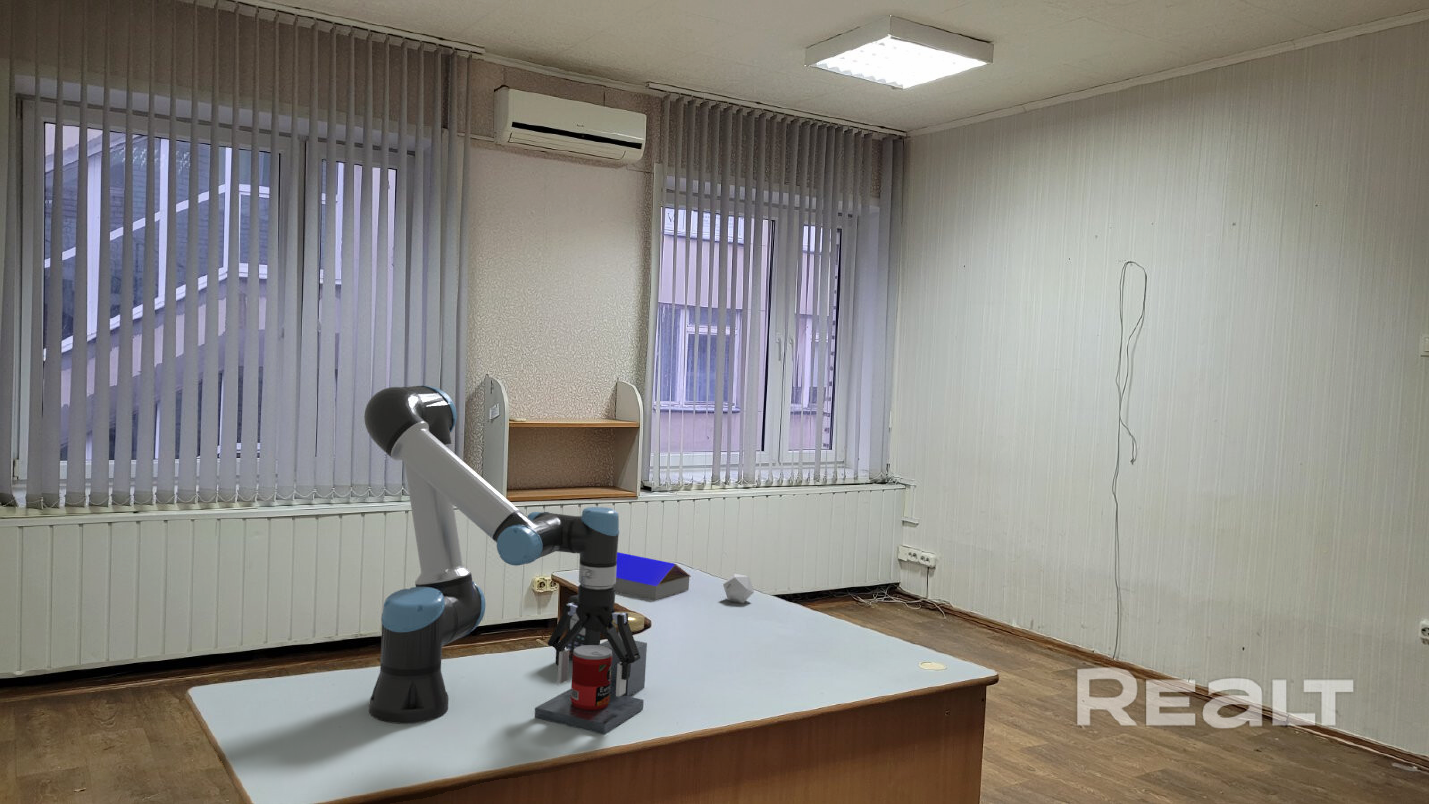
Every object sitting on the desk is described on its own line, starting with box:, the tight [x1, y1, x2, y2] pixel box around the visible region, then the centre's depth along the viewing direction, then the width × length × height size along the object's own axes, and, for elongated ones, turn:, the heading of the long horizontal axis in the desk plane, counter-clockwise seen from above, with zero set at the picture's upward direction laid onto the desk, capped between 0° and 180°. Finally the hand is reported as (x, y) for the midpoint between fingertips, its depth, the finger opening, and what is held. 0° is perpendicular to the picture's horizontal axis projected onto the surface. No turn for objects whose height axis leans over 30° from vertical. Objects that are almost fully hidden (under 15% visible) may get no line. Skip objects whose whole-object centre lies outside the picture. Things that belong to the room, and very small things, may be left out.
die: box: [722, 573, 755, 604], centre depth 307 cm, size 8×9×10 cm
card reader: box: [565, 594, 602, 661], centre depth 240 cm, size 9×4×15 cm, turn 45°
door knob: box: [607, 611, 645, 642], centre depth 222 cm, size 9×9×10 cm
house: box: [613, 551, 692, 601], centre depth 316 cm, size 19×25×10 cm
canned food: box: [570, 645, 612, 710], centre depth 207 cm, size 8×8×11 cm
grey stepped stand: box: [534, 639, 648, 735], centre depth 213 cm, size 16×28×10 cm, turn 156°
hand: (591, 688), depth 207 cm, fingers open, 13 cm apart
